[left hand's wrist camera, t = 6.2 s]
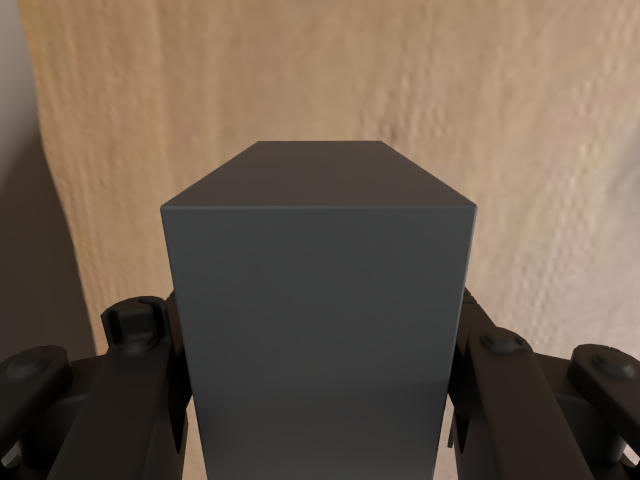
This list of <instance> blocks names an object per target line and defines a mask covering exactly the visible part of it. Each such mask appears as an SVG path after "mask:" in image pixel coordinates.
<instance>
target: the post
mask: <svg viewBox="0 0 640 480" xmlns="http://www.w3.org/2000/svg"><path fill="white" fill-rule="evenodd" d="M160 212H161V217H162V223H163V229H164V235H165V240H166V246H167V252H168V257H169V263H170V269H171V274H172V280H173V286H174V291H175V297H176V303H177V309H178V314H179V320H180V326H181V331H182V337H183V343H184V348H185V354H186V360H187V366H188V371H189V377H190V383H191V388H192V394H193V400H194V405H195V411H196V417H197V422H198V428H199V434H200V440H201V445H202V451H203V457H204V462H205V468H206V474H207V479H208V480H433V476H434V469H435V463H436V457H437V451H438V445H439V439H440V433H441V427H442V421H443V415H444V409H445V403H446V397H447V391H448V385H449V378H450V372H451V366H452V360H453V354H454V348H455V342H456V336H457V330H458V324H459V318H460V312H461V306H462V300H463V294H464V287H465V281H466V275H467V269H468V263H469V257H470V251H471V245H472V239H473V233H474V227H475V221H476V215H477V205H476V204H475V203H473V202H472V201H470V200H469V199H467V198H466V197H464V196H463V195H461V194H460V193H458V192H457V191H455V190H454V189H452V188H451V187H449V186H448V185H446V184H445V183H443V182H442V181H440V180H439V179H437V178H436V177H434V176H433V175H431V174H430V173H428V172H427V171H425V170H424V169H422V168H421V167H419V166H418V165H416V164H415V163H413V162H412V161H410V160H409V159H407V158H406V157H404V156H403V155H401V154H400V153H398V152H397V151H395V150H394V149H392V148H391V147H389V146H388V145H386V144H385V143H383V142H382V141H258V142H256V143H255V144H253V145H252V146H250V147H249V148H247V149H246V150H244V151H243V152H241V153H240V154H238V155H237V156H235V157H234V158H232V159H231V160H229V161H228V162H226V163H225V164H223V165H222V166H220V167H219V168H217V169H216V170H214V171H213V172H211V173H210V174H208V175H207V176H205V177H204V178H202V179H201V180H199V181H198V182H196V183H195V184H193V185H192V186H190V187H189V188H187V189H186V190H184V191H183V192H181V193H180V194H178V195H177V196H175V197H174V198H172V199H171V200H169V201H168V202H166V203H165V204H163V205H162V206H161V208H160Z"/></svg>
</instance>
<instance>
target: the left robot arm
mask: <svg viewBox="0 0 640 480" xmlns="http://www.w3.org/2000/svg"><path fill="white" fill-rule="evenodd" d="M100 316H101V320H102V324H103V327H104V331H105V335H106V339H107V342H108V346H109V348H108V350H107V353H106V354H104V355H100V356H96V357H91V358H86V359H81V360H76V361H71V362H70V359H69V355H68V352H67V351H66V350H65V349H64V348H63V347H60V346H53V345H50V346H41V347H35V348H32V349H28V350H25V351H22V352H21V353H19V354H17V355H14V356H12V357H10V358H8V359H7V360H5V361H4V362H2V363H1V364H0V480H182V474H183V466H184V457H185V449H186V440H187V432H188V418H187V412H186V408H187V406H188V403H189V401H190V399H191V396H192V388H191V383H190V377H189V371H188V366H187V360H186V354H185V348H184V343H183V337H182V331H181V326H180V320H179V314H178V309H177V303H176V297H175V291H174V290H173V292H172V293H171V294H170V295H169V297H168V298H167V299H166V301H164V300H163V299H162V298H159V297H155V296H140V297H134V298H129V299H126V300H124V301H121V302H118V303H116V304H114V305H112V306H111V307H109V308H107V309H106V310H105V311H104V312H103V313H102V314H101V315H100ZM447 394H449V396H450V399H451V401H452V403H453V405H454V412H453V418H452V423H451V428H450V434H449V439H448V446H447V447H449V448H452V447H453V441H454V448H455V456H456V465H457V473H458V480H640V461H639V463H638V464H637V465H634V464H633V463H632V462H631V461H630V460H629V459H628V458H627V457H626V455H625V454H624V453H623V451H624V449H625V447H626V444H628V445H629V446H630V447H631V448H632V450H633V451H634V452H635V453H636V454H637V455H638V456H639V457H640V361H638V360H637V359H635V358H634V357H632V356H630V355H628V354H626V353H624V352H621V351H620V350H618V349H615V348H612V347H611V348H610V347H609V346H604V345H596V344H584V345H579V346H577V347H576V348H575V349H574V350H573V353H572V356H571V360H567V359H562V358H557V357H552V356H547V355H542V354H538V353H535V352H533V350H532V348H531V346H530V345H529V344H528V342H527V341H526V340H525V339H524V338H522V337H521V336H519V335H518V334H516V333H514V332H512V331H510V330H507V329H505V328H501V327H496V326H495V324H494V323H493V322H492V321H491V319H490V318H489V317H488V315H487V314H486V313H485V312H484V310H483V309H482V308H481V306H480V305H479V304H477V301H476V300H475V299H474V297H473V296H471V293H470V292H469V291H468V290H467V288H466V287H464V294H463V300H462V306H461V312H460V318H459V324H458V330H457V336H456V342H455V348H454V354H453V360H452V366H451V372H450V378H449V385H448V391H447ZM446 400H447V397H446ZM445 406H446V403H445ZM444 410H445V409H444ZM13 446H15V448H16V450H17V453H18V454H17V456H16V457H15V458H14V459H13V460H12V461H11V462H10V463H9V464H8V465H7V466H3V464H2V462H1V459H2V458H3V457H4V456H5V455H6V454H7V453H8V451H9V450H10V449H11V448H12V447H13Z"/></svg>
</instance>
